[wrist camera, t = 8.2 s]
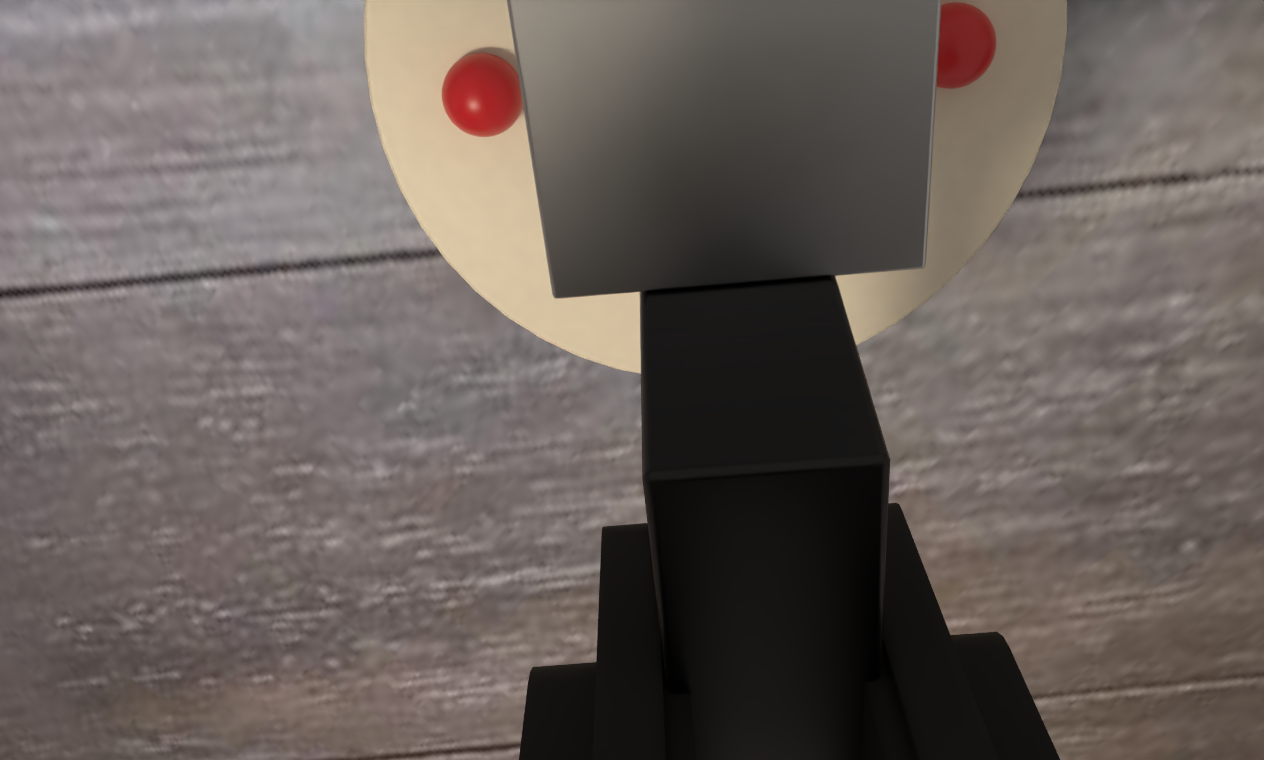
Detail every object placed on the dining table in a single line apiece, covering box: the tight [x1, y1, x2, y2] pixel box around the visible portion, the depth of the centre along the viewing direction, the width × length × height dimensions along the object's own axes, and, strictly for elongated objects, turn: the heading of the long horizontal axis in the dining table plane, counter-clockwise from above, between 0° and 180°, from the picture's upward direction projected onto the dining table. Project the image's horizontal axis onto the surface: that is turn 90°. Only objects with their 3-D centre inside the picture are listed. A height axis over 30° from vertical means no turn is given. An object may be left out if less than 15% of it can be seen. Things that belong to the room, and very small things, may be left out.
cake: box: [364, 0, 1067, 374], centre depth 22 cm, size 12×12×6 cm
